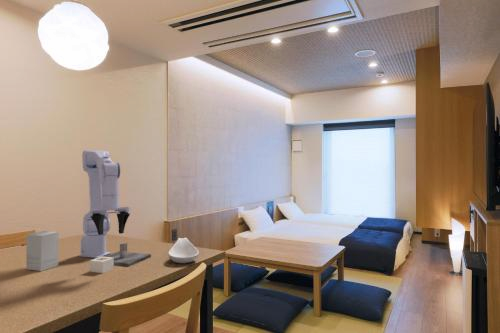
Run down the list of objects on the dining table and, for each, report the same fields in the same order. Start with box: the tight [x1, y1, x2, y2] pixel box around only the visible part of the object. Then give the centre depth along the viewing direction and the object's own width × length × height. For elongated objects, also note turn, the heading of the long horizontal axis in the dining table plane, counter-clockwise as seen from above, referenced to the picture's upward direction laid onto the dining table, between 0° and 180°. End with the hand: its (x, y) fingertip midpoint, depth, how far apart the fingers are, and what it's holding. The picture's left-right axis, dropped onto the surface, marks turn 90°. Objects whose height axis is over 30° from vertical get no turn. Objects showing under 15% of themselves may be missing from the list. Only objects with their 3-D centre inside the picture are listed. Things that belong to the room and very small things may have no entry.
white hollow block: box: [89, 256, 115, 274], centre depth 118 cm, size 5×5×4 cm
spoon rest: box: [167, 237, 200, 264], centre depth 135 cm, size 24×12×7 cm, turn 15°
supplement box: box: [25, 230, 59, 272], centre depth 121 cm, size 7×7×13 cm
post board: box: [103, 242, 152, 267], centre depth 132 cm, size 16×14×6 cm
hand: (111, 234), depth 118 cm, fingers open, 7 cm apart
